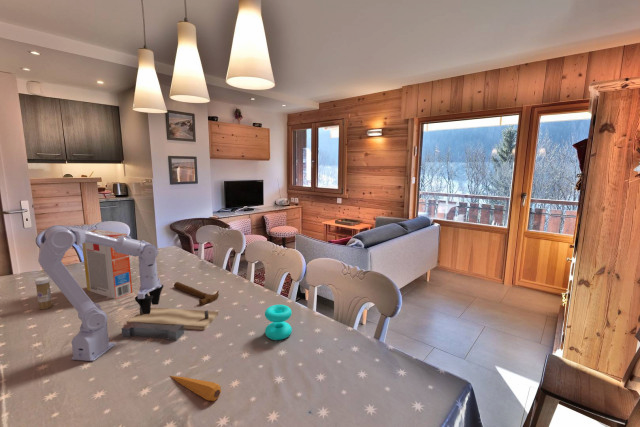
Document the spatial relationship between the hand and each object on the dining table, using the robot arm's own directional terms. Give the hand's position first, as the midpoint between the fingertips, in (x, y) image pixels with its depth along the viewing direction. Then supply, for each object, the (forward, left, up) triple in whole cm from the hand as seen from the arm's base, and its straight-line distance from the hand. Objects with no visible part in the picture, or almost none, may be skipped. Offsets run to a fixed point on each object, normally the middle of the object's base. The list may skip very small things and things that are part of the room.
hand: (151, 308), depth 111 cm
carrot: (-26, -31, -9) cm, 42 cm away
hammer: (+34, +1, -9) cm, 35 cm away
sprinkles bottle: (+12, +58, -9) cm, 60 cm away
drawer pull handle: (-3, -3, -9) cm, 10 cm away
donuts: (+3, -49, -9) cm, 49 cm away
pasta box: (+31, +44, -9) cm, 55 cm away
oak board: (+8, -4, -9) cm, 12 cm away
